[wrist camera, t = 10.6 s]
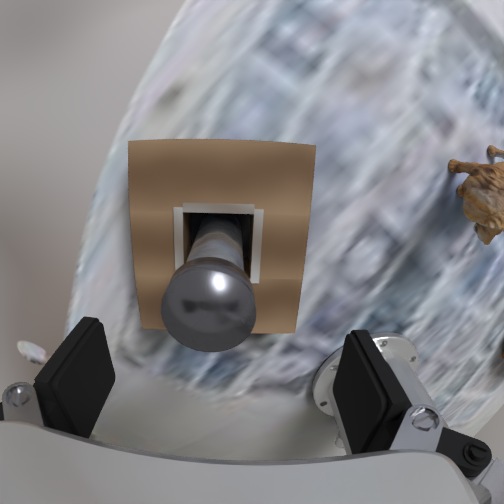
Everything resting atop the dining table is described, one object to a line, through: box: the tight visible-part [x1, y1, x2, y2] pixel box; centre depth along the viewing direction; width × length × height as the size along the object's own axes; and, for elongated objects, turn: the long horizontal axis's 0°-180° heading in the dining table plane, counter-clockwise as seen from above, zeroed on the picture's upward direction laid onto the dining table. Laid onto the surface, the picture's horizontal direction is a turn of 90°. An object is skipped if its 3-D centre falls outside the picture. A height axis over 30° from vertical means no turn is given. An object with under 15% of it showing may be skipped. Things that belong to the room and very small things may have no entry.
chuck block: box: [128, 139, 316, 333], centre depth 22 cm, size 14×12×4 cm
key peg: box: [161, 213, 256, 352], centre depth 18 cm, size 4×4×12 cm
